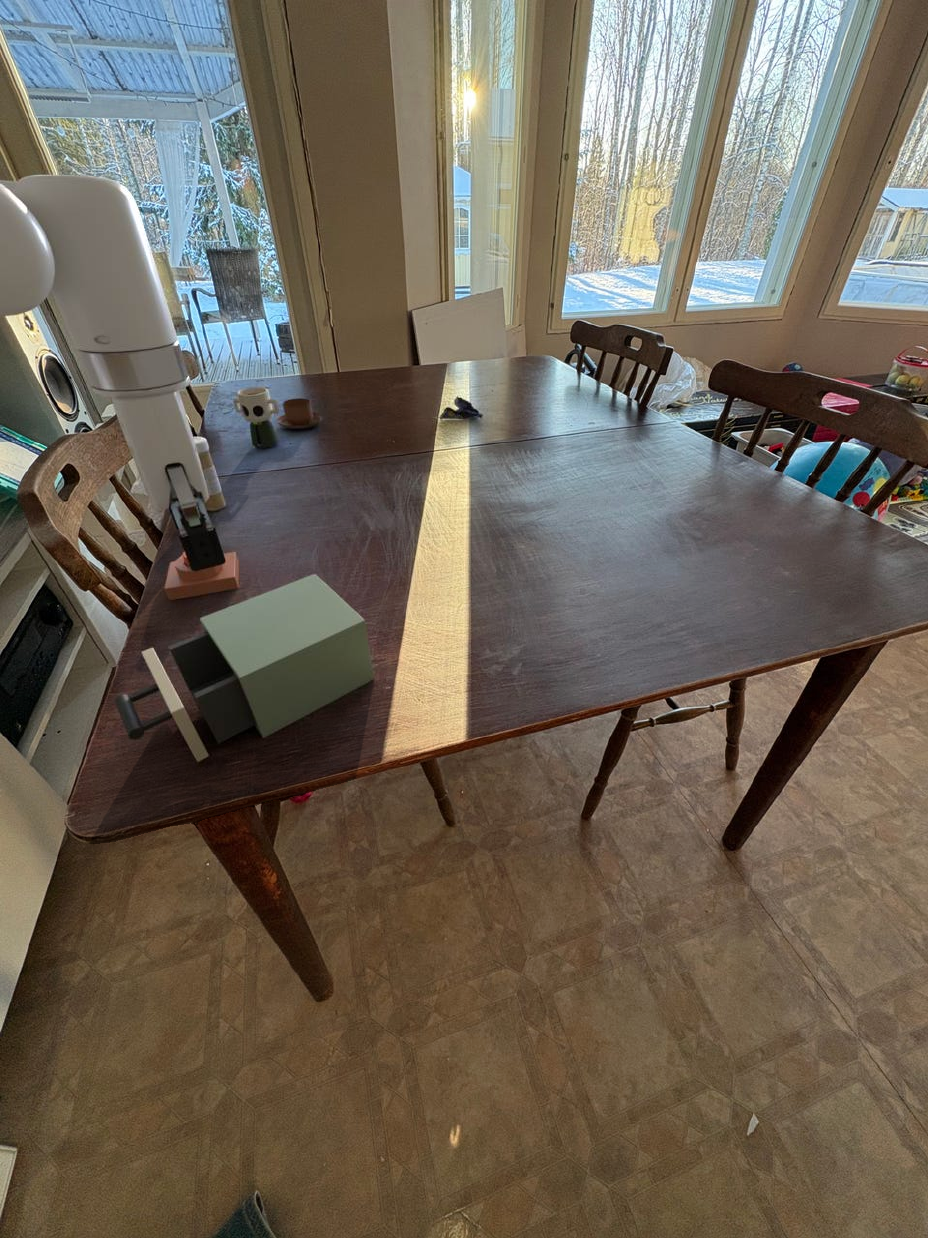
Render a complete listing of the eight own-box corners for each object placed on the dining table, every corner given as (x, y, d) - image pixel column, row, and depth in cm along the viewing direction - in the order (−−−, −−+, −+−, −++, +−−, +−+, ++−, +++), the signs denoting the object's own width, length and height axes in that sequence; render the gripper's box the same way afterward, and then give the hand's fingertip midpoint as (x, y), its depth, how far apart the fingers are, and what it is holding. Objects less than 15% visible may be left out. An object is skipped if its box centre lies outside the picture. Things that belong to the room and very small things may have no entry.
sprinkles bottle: (197, 509, 102) (173, 441, 93) (216, 500, 105) (194, 434, 97) (214, 513, 100) (190, 445, 92) (232, 504, 103) (211, 438, 95)
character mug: (239, 449, 127) (223, 394, 119) (251, 439, 133) (236, 386, 124) (281, 451, 126) (269, 395, 118) (291, 440, 132) (280, 387, 124)
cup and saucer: (283, 419, 146) (278, 396, 142) (326, 418, 146) (322, 395, 142) (274, 433, 136) (268, 409, 133) (319, 432, 137) (315, 408, 133)
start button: (185, 569, 78) (181, 559, 77) (187, 557, 81) (183, 548, 80) (210, 565, 79) (206, 555, 78) (211, 554, 82) (208, 544, 80)
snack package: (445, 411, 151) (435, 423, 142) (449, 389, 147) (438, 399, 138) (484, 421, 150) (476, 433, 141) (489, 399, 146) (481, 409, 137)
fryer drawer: (155, 784, 52) (122, 735, 47) (128, 717, 59) (97, 668, 54) (314, 701, 61) (301, 652, 56) (275, 651, 67) (260, 604, 63)
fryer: (263, 738, 57) (239, 678, 51) (223, 677, 65) (199, 618, 59) (374, 679, 65) (365, 620, 59) (327, 630, 72) (314, 573, 66)
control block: (169, 600, 78) (159, 579, 75) (174, 573, 84) (165, 552, 81) (238, 588, 80) (231, 567, 78) (239, 562, 86) (232, 541, 84)
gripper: (83, 354, 47) (151, 520, 58) (89, 399, 36) (173, 596, 46) (171, 346, 51) (220, 505, 61) (203, 385, 39) (257, 573, 50)
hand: (200, 545), depth 54 cm, fingers open, 9 cm apart
